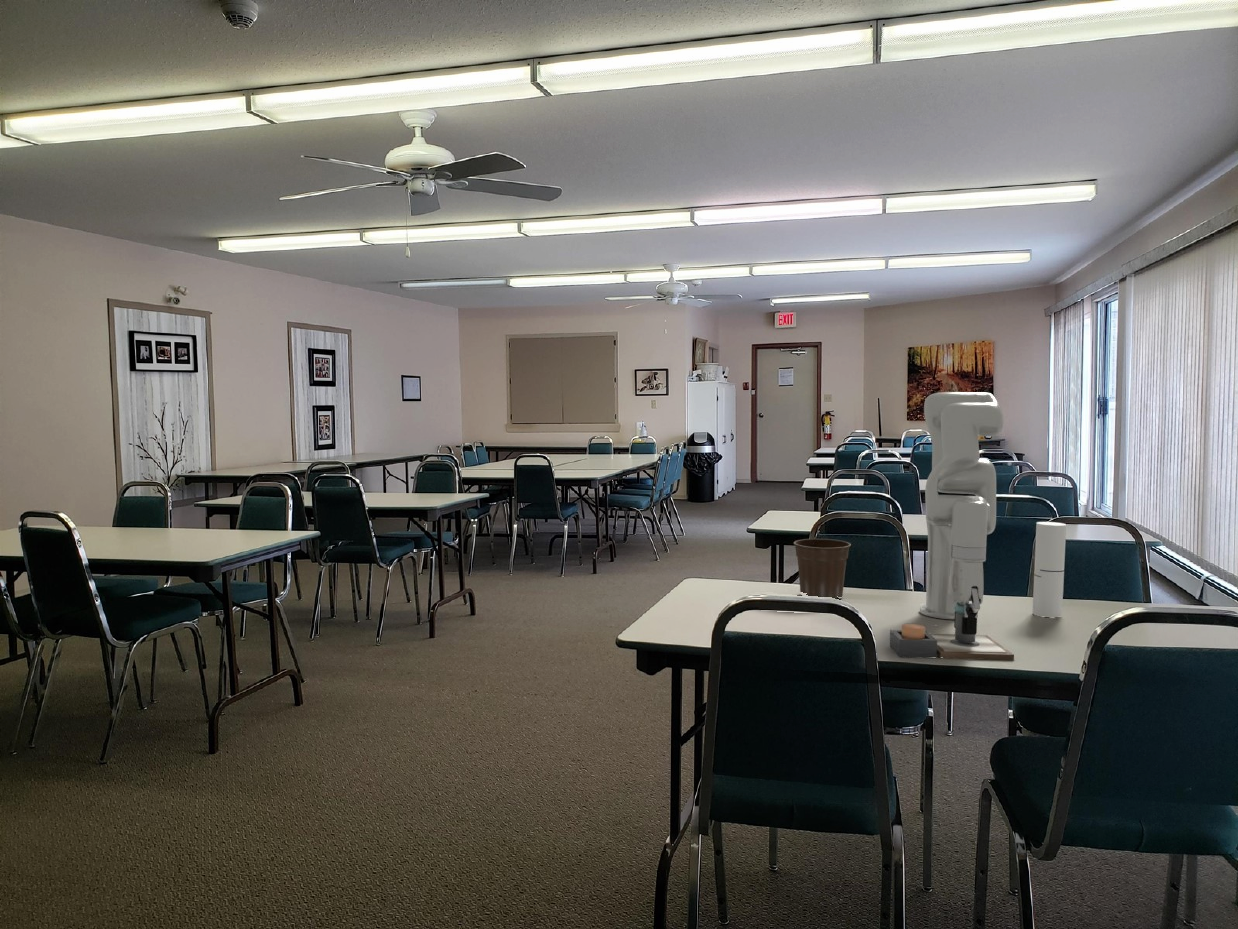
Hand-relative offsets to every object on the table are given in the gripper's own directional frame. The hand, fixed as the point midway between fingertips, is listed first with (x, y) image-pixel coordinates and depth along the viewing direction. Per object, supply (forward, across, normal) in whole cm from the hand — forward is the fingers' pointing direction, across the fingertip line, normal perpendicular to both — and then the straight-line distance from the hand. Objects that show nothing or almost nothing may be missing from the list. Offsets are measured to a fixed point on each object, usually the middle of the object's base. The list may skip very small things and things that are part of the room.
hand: (965, 630), depth 194 cm
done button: (+2, +4, -13) cm, 14 cm away
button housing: (+4, +4, -13) cm, 14 cm away
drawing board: (+4, 0, 0) cm, 4 cm away
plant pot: (+5, -51, -24) cm, 57 cm away
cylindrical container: (+5, -35, +34) cm, 49 cm away
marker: (+2, 0, 0) cm, 2 cm away
